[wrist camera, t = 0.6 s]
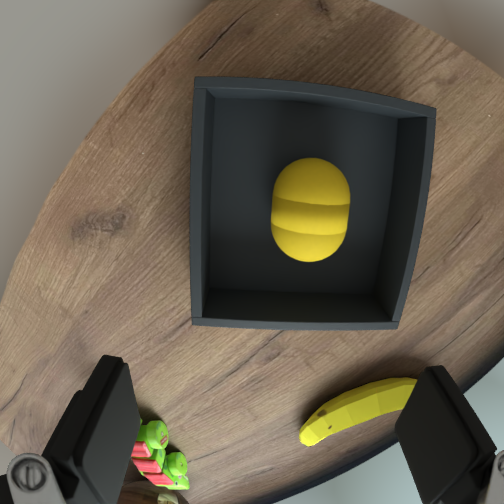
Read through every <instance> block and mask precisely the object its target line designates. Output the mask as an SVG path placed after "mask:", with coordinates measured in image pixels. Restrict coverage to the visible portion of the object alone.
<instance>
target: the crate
mask: <svg viewBox="0 0 504 504" xmlns="http://www.w3.org/2000/svg"><path fill="white" fill-rule="evenodd" d="M194 88H195V89H194V95H193V112H192V133H191V161H190V290H191V316H192V325H197V326H211V327H227V328H246V329H271V330H389V329H397V328H398V325H399V321H400V318H401V315H402V312H403V308H404V305H405V301H406V297H407V294H408V290H409V286H410V282H411V278H412V274H413V270H414V266H415V262H416V257H417V253H418V248H419V243H420V238H421V233H422V228H423V223H424V217H425V211H426V205H427V199H428V192H429V185H430V178H431V169H432V160H433V151H434V139H435V125H436V108H433V107H430V106H426V105H423V104H419V103H415V102H411V101H407V100H403V99H399V98H395V97H390V96H386V95H381V94H377V93H372V92H367V91H361V90H356V89H350V88H344V87H338V86H331V85H324V84H317V83H309V82H300V81H291V80H280V79H267V78H249V77H195V80H194ZM304 158H318V159H323V160H325V161H328V162H330V163H331V164H333V165H334V166H336V167H337V168H338V169H339V170H340V171H341V172H342V174H343V175H344V177H345V178H346V180H347V183H348V185H349V190H350V208H349V215H348V223H347V230H346V234H345V237H344V240H343V242H342V244H341V245H340V246H339V247H338V249H337V250H336V251H335V252H334V253H333V254H331V255H330V256H328V257H326V258H324V259H322V260H319V261H314V262H304V261H299V260H296V259H294V258H292V257H290V256H288V255H287V254H286V253H285V252H283V251H282V250H281V249H280V247H279V246H278V245H277V243H276V241H275V239H274V237H273V234H272V230H271V212H272V198H273V190H274V185H275V182H276V180H277V178H278V176H279V174H280V173H281V172H282V170H283V169H284V168H285V167H286V166H288V165H289V164H291V163H292V162H294V161H297V160H299V159H304Z"/></svg>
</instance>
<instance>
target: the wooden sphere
mask: <svg viewBox="0 0 504 504" xmlns="http://www.w3.org/2000/svg"><path fill="white" fill-rule="evenodd" d="M117 504H189V503H188V502H187V501H186V499H185V498H184V497H183V496H182V495H181V494H179V493H178V492H177V491H175V490H174V489H168V488H167V487H165V486H156V485H154V484H153V483H152V482H151V481H136V482H131V483H128V484H126V485H124V486H122V487H121V491H120V494H119V498H118V501H117Z"/></svg>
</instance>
